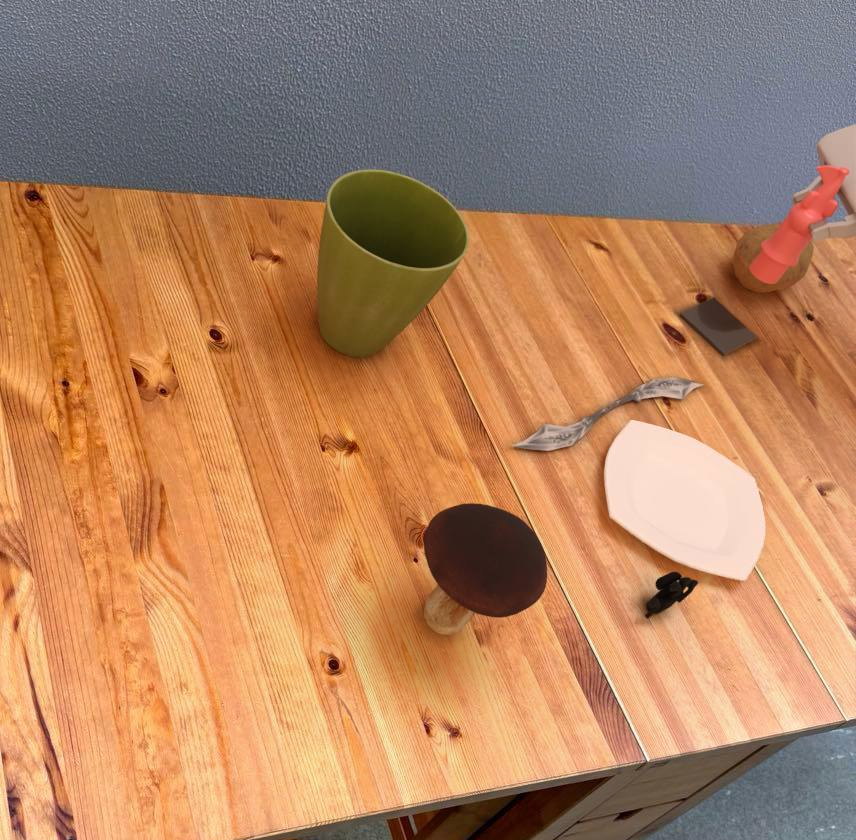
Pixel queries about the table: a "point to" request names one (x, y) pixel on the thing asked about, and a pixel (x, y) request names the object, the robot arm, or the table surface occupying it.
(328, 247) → the flower pot
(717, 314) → the coaster
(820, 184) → the robot arm
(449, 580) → the decorative mushroom
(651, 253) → the table surface
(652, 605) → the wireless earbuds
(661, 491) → the plate
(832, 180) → the figurine
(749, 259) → the potato
